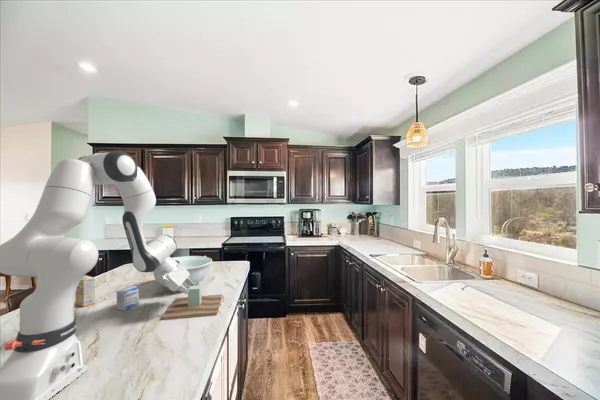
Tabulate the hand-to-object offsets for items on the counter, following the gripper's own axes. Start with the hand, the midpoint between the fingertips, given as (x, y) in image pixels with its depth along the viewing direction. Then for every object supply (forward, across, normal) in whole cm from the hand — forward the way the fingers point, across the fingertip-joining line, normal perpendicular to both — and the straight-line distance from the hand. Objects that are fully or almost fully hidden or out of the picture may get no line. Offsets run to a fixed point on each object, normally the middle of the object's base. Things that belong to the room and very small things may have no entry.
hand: (190, 289), depth 120 cm
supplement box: (-30, +15, +42) cm, 54 cm away
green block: (+6, 0, +4) cm, 8 cm away
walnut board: (+7, 0, +5) cm, 9 cm away
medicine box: (-14, +7, +27) cm, 31 cm away
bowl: (-2, +32, +14) cm, 35 cm away
